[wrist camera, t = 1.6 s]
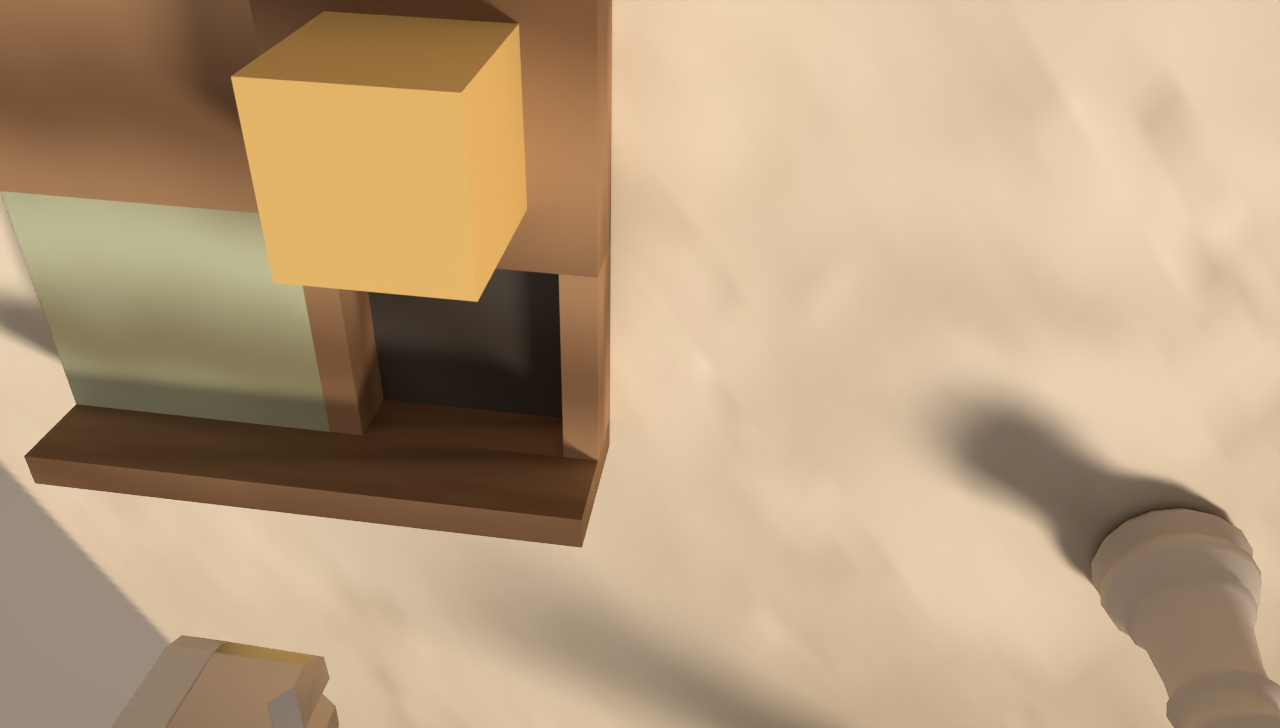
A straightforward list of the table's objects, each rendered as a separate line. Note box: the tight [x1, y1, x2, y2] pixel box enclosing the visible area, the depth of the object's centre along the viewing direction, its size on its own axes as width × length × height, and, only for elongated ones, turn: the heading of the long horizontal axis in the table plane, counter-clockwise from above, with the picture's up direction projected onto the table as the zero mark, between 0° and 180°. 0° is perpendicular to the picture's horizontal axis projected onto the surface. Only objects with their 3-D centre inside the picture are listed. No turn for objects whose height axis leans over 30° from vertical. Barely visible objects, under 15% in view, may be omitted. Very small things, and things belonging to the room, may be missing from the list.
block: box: [231, 11, 527, 302], centre depth 22 cm, size 4×4×4 cm
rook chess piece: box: [1091, 508, 1280, 728], centre depth 28 cm, size 4×4×8 cm
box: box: [0, 0, 612, 547], centre depth 25 cm, size 22×16×4 cm
